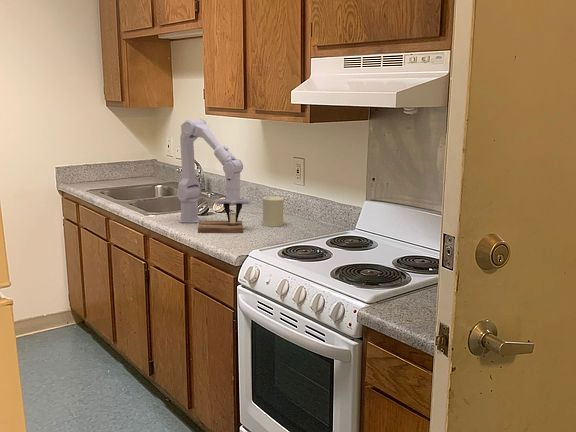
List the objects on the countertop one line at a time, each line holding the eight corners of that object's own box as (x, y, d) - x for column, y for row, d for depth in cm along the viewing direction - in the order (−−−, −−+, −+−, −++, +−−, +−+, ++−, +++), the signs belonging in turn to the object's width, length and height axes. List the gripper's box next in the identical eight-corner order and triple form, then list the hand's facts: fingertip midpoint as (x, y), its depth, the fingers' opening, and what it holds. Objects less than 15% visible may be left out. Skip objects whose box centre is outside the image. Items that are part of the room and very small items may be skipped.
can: (259, 222, 261) (259, 195, 258) (279, 221, 264) (279, 195, 262) (266, 227, 252) (266, 199, 250) (286, 226, 256) (287, 198, 253)
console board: (199, 225, 253) (199, 220, 252) (241, 225, 255) (241, 220, 254) (197, 232, 239) (197, 227, 239) (242, 232, 241) (242, 227, 241)
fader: (229, 222, 249) (229, 212, 248) (235, 222, 249) (235, 212, 249) (229, 224, 244) (229, 215, 244) (235, 224, 245) (235, 215, 244)
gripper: (215, 190, 239) (214, 223, 242) (251, 190, 241) (250, 223, 244) (215, 187, 246) (215, 219, 249) (250, 188, 248) (249, 219, 251)
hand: (232, 221), depth 247 cm, fingers closed on fader, 2 cm apart
